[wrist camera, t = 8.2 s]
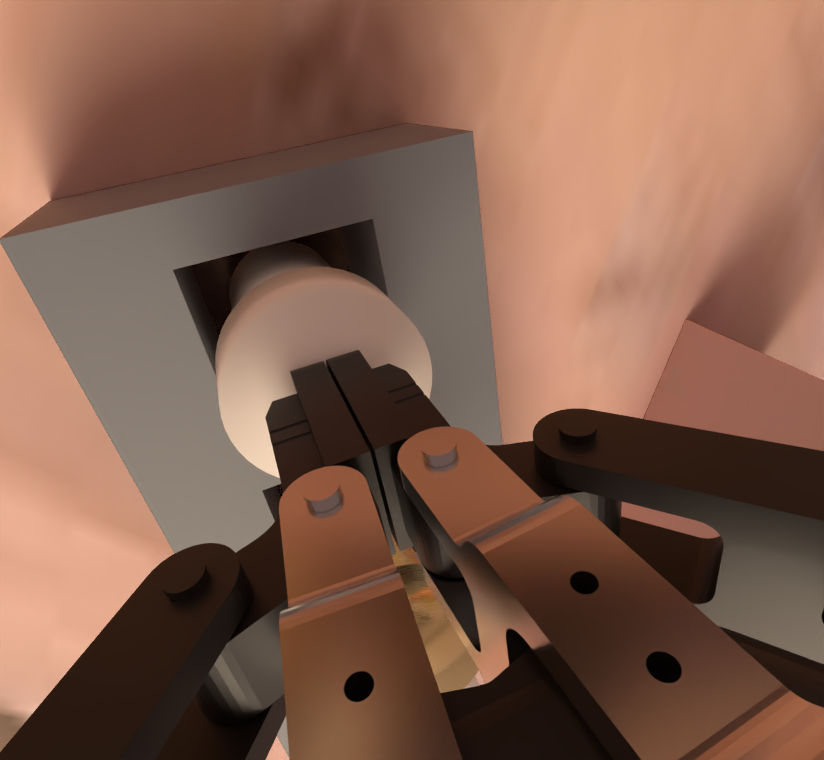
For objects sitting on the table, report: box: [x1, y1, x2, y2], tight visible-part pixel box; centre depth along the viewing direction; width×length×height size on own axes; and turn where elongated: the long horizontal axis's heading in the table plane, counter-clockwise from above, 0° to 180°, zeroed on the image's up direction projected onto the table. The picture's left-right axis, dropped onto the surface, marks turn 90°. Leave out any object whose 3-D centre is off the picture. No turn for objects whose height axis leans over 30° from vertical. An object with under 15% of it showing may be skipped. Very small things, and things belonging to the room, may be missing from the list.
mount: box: [0, 123, 502, 757], centre depth 20 cm, size 22×11×5 cm, turn 10°
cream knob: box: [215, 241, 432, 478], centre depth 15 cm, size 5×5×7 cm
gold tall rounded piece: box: [391, 533, 479, 693], centre depth 16 cm, size 4×4×7 cm
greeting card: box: [621, 319, 824, 538], centre depth 22 cm, size 11×7×15 cm, turn 132°
